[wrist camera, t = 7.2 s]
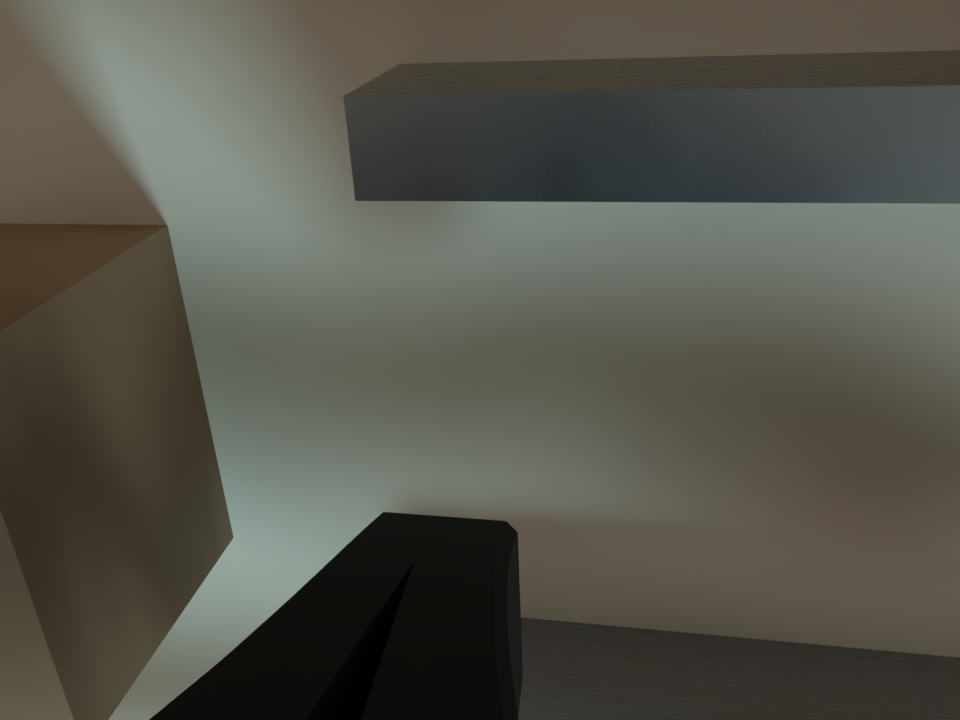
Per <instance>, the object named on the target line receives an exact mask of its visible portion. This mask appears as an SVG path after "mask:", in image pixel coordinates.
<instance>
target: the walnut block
mask: <svg viewBox="0 0 960 720" xmlns="http://www.w3.org/2000/svg"><path fill="white" fill-rule="evenodd" d="M233 538H234V537H233V533H232V528H231V523H230V518H229V514H228V509H227V504H226V499H225V495H224V490H223V485H222V481H221V476H220V471H219V466H218V462H217V457H216V452H215V447H214V443H213V438H212V433H211V428H210V424H209V419H208V414H207V410H206V405H205V400H204V395H203V391H202V386H201V381H200V376H199V372H198V367H197V362H196V358H195V353H194V348H193V343H192V339H191V334H190V329H189V324H188V320H187V315H186V310H185V306H184V301H183V296H182V291H181V287H180V282H179V277H178V272H177V268H176V263H175V258H174V254H173V249H172V244H171V239H170V235H169V230H168V225H100V224H5V223H0V720H109V718H110V717H111V715H112V714H113V712H114V711H115V710H116V708H117V707H118V705H119V704H120V702H121V701H122V699H123V698H124V696H125V695H126V694H127V692H128V691H129V689H130V688H131V686H132V685H133V683H134V682H135V680H136V679H137V678H138V676H139V675H140V673H141V672H142V670H143V669H144V667H145V666H146V664H147V663H148V662H149V660H150V659H151V657H152V656H153V654H154V653H155V651H156V650H157V648H158V647H159V646H160V644H161V643H162V641H163V640H164V638H165V637H166V635H167V634H168V632H169V631H170V630H171V628H172V627H173V625H174V624H175V622H176V621H177V619H178V618H179V616H180V615H181V614H182V612H183V611H184V609H185V608H186V606H187V605H188V603H189V602H190V600H191V599H192V597H193V596H194V595H195V593H196V592H197V590H198V589H199V587H200V586H201V584H202V583H203V581H204V580H205V579H206V577H207V576H208V574H209V573H210V571H211V570H212V568H213V567H214V565H215V564H216V563H217V561H218V560H219V558H220V557H221V555H222V554H223V552H224V551H225V549H226V548H227V547H228V545H229V544H230V542H231V541H232V539H233Z"/></svg>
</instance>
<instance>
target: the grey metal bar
mask: <svg viewBox="0 0 960 720" xmlns="http://www.w3.org/2000/svg"><path fill="white" fill-rule="evenodd" d="M343 97H344V106H345V115H346V124H347V132H348V141H349V150H350V159H351V168H352V176H353V185H354V194H355V201H497V202H708V203H920V204H960V50H944V51H904V52H863V53H822V54H782V55H741V56H701V57H660V58H619V59H579V60H538V61H498V62H457V63H417V64H398V65H397V66H395V67H393V68H391V69H390V70H388V71H386V72H385V73H383V74H381V75H379V76H378V77H376V78H374V79H372V80H371V81H369V82H367V83H365V84H364V85H362V86H360V87H358V88H357V89H355V90H353V91H352V92H350V93H348V94H346V95H345V96H343ZM521 637H522V665H523V677H522V687H521V696H520V706H519V717H518V720H960V658H959V657H948V656H937V655H926V654H915V653H904V652H893V651H882V650H871V649H860V648H849V647H838V646H827V645H817V644H806V643H795V642H784V641H773V640H762V639H751V638H740V637H729V636H718V635H707V634H696V633H685V632H674V631H664V630H653V629H642V628H631V627H620V626H609V625H598V624H587V623H576V622H565V621H554V620H543V619H532V618H521Z"/></svg>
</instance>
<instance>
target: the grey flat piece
mask: <svg viewBox="0 0 960 720" xmlns="http://www.w3.org/2000/svg"><path fill="white" fill-rule="evenodd" d="M944 50H960V0H0V223H5V224H100V225H168V230H169V235H170V239H171V244H172V249H173V254H174V258H175V263H176V268H177V272H178V277H179V282H180V287H181V291H182V296H183V301H184V306H185V310H186V315H187V320H188V324H189V329H190V334H191V339H192V343H193V348H194V353H195V358H196V362H197V367H198V372H199V376H200V381H201V386H202V391H203V395H204V400H205V405H206V410H207V414H208V419H209V424H210V428H211V433H212V438H213V443H214V447H215V452H216V457H217V462H218V466H219V471H220V476H221V481H222V485H223V490H224V495H225V499H226V504H227V509H228V514H229V518H230V523H231V528H232V533H233V537H234V538H233V539H232V541H231V542H230V544H229V545H228V547H227V548H226V549H225V551H224V552H223V554H222V555H221V557H220V558H219V560H218V561H217V563H216V564H215V565H214V567H213V568H212V570H211V571H210V573H209V574H208V576H207V577H206V579H205V580H204V581H203V583H202V584H201V586H200V587H199V589H198V590H197V592H196V593H195V595H194V596H193V597H192V599H191V600H190V602H189V603H188V605H187V606H186V608H185V609H184V611H183V612H182V614H181V615H180V616H179V618H178V619H177V621H176V622H175V624H174V625H173V627H172V628H171V630H170V631H169V632H168V634H167V635H166V637H165V638H164V640H163V641H162V643H161V644H160V646H159V647H158V648H157V650H156V651H155V653H154V654H153V656H152V657H151V659H150V660H149V662H148V663H147V664H146V666H145V667H144V669H143V670H142V672H141V673H140V675H139V676H138V678H137V679H136V680H135V682H134V683H133V685H132V686H131V688H130V689H129V691H128V692H127V694H126V695H125V696H124V698H123V699H122V701H121V702H120V704H119V705H118V707H117V708H116V710H115V711H114V712H113V714H112V715H111V717H110V718H109V720H149V719H150V718H152V717H153V716H154V715H155V714H156V713H158V712H159V711H160V710H161V709H163V708H164V707H165V706H166V705H167V704H169V703H170V702H171V701H172V700H174V699H175V698H176V697H177V696H178V695H180V694H181V693H182V692H183V691H185V690H186V689H187V688H188V687H189V686H191V685H192V684H193V683H194V682H196V681H197V680H198V679H199V678H200V677H202V676H203V675H204V674H205V673H207V672H208V671H209V670H210V669H211V668H212V667H214V666H215V665H216V664H217V663H218V662H219V661H221V660H222V659H223V658H224V657H225V656H226V655H228V654H229V653H230V652H231V651H232V650H233V649H234V648H235V647H237V646H238V645H239V644H240V643H241V642H242V641H243V640H244V639H245V638H247V637H248V636H249V635H250V634H251V633H252V632H253V631H254V630H256V629H257V628H258V627H259V626H260V625H261V624H262V623H263V622H264V621H266V620H267V619H268V618H269V617H270V616H271V615H272V614H273V613H274V612H276V611H277V610H278V609H279V608H280V607H281V606H282V605H283V604H285V603H286V602H287V601H288V600H289V599H290V598H291V597H292V596H293V595H294V594H295V593H296V592H297V591H299V590H300V589H301V588H302V587H303V586H304V585H305V584H306V583H307V582H308V581H309V580H310V579H311V578H312V577H313V576H315V575H316V574H317V573H318V572H319V571H320V570H321V569H322V568H323V567H324V566H325V565H326V564H327V563H328V562H329V561H330V560H332V559H333V558H334V557H335V556H336V555H337V554H338V553H339V552H340V551H341V550H342V549H343V548H344V547H345V546H346V545H347V544H348V543H350V542H351V541H352V540H353V539H354V538H355V537H356V536H357V535H358V534H359V533H360V532H361V531H362V530H364V529H365V528H366V527H367V526H368V525H369V524H370V523H371V522H372V521H374V520H375V519H376V518H377V517H378V516H379V515H380V514H381V513H383V512H391V513H405V514H418V515H432V516H445V517H459V518H472V519H486V520H500V521H507V522H508V523H509V524H510V525H511V526H512V527H513V528H514V529H515V530H516V531H517V532H518V552H519V581H520V609H521V618H532V619H543V620H554V621H565V622H576V623H587V624H598V625H609V626H620V627H631V628H642V629H653V630H664V631H674V632H685V633H696V634H707V635H718V636H729V637H740V638H751V639H762V640H773V641H784V642H795V643H806V644H817V645H827V646H838V647H849V648H860V649H871V650H882V651H893V652H904V653H915V654H926V655H937V656H948V657H959V658H960V204H920V203H708V202H497V201H355V194H354V185H353V176H352V168H351V159H350V150H349V141H348V132H347V124H346V115H345V106H344V97H343V96H345V95H346V94H348V93H350V92H352V91H353V90H355V89H357V88H358V87H360V86H362V85H364V84H365V83H367V82H369V81H371V80H372V79H374V78H376V77H378V76H379V75H381V74H383V73H385V72H386V71H388V70H390V69H391V68H393V67H395V66H397V65H398V64H417V63H457V62H498V61H538V60H579V59H619V58H660V57H701V56H741V55H782V54H822V53H863V52H904V51H944Z"/></svg>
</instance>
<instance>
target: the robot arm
mask: <svg viewBox="0 0 960 720" xmlns="http://www.w3.org/2000/svg"><path fill="white" fill-rule="evenodd" d="M522 677H523V665H522V637H521V609H520V581H519V552H518V532H517V531H516V530H515V529H514V528H513V527H512V526H511V525H510V524H509V523H508V522H507V521H500V520H486V519H472V518H459V517H445V516H432V515H418V514H405V513H391V512H383V513H381V514H380V515H379V516H378V517H377V518H376V519H375V520H374V521H372V522H371V523H370V524H369V525H368V526H367V527H366V528H365V529H364V530H362V531H361V532H360V533H359V534H358V535H357V536H356V537H355V538H354V539H353V540H352V541H351V542H350V543H348V544H347V545H346V546H345V547H344V548H343V549H342V550H341V551H340V552H339V553H338V554H337V555H336V556H335V557H334V558H333V559H332V560H330V561H329V562H328V563H327V564H326V565H325V566H324V567H323V568H322V569H321V570H320V571H319V572H318V573H317V574H316V575H315V576H313V577H312V578H311V579H310V580H309V581H308V582H307V583H306V584H305V585H304V586H303V587H302V588H301V589H300V590H299V591H297V592H296V593H295V594H294V595H293V596H292V597H291V598H290V599H289V600H288V601H287V602H286V603H285V604H283V605H282V606H281V607H280V608H279V609H278V610H277V611H276V612H274V613H273V614H272V615H271V616H270V617H269V618H268V619H267V620H266V621H264V622H263V623H262V624H261V625H260V626H259V627H258V628H257V629H256V630H254V631H253V632H252V633H251V634H250V635H249V636H248V637H247V638H245V639H244V640H243V641H242V642H241V643H240V644H239V645H238V646H237V647H235V648H234V649H233V650H232V651H231V652H230V653H229V654H228V655H226V656H225V657H224V658H223V659H222V660H221V661H219V662H218V663H217V664H216V665H215V666H214V667H212V668H211V669H210V670H209V671H208V672H207V673H205V674H204V675H203V676H202V677H200V678H199V679H198V680H197V681H196V682H194V683H193V684H192V685H191V686H189V687H188V688H187V689H186V690H185V691H183V692H182V693H181V694H180V695H178V696H177V697H176V698H175V699H174V700H172V701H171V702H170V703H169V704H167V705H166V706H165V707H164V708H163V709H161V710H160V711H159V712H158V713H156V714H155V715H154V716H153V717H152V718H150V719H149V720H518V717H519V706H520V696H521V687H522Z"/></svg>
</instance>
